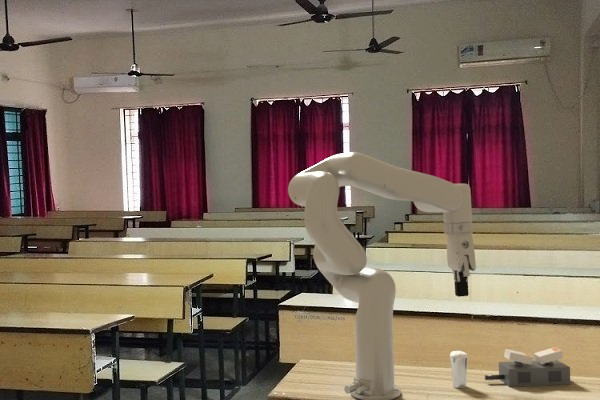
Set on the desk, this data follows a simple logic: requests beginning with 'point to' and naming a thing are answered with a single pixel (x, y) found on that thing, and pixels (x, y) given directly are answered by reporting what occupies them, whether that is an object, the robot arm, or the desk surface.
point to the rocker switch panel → (532, 374)
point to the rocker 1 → (518, 356)
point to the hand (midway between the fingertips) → (461, 295)
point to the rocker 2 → (548, 355)
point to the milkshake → (459, 368)
